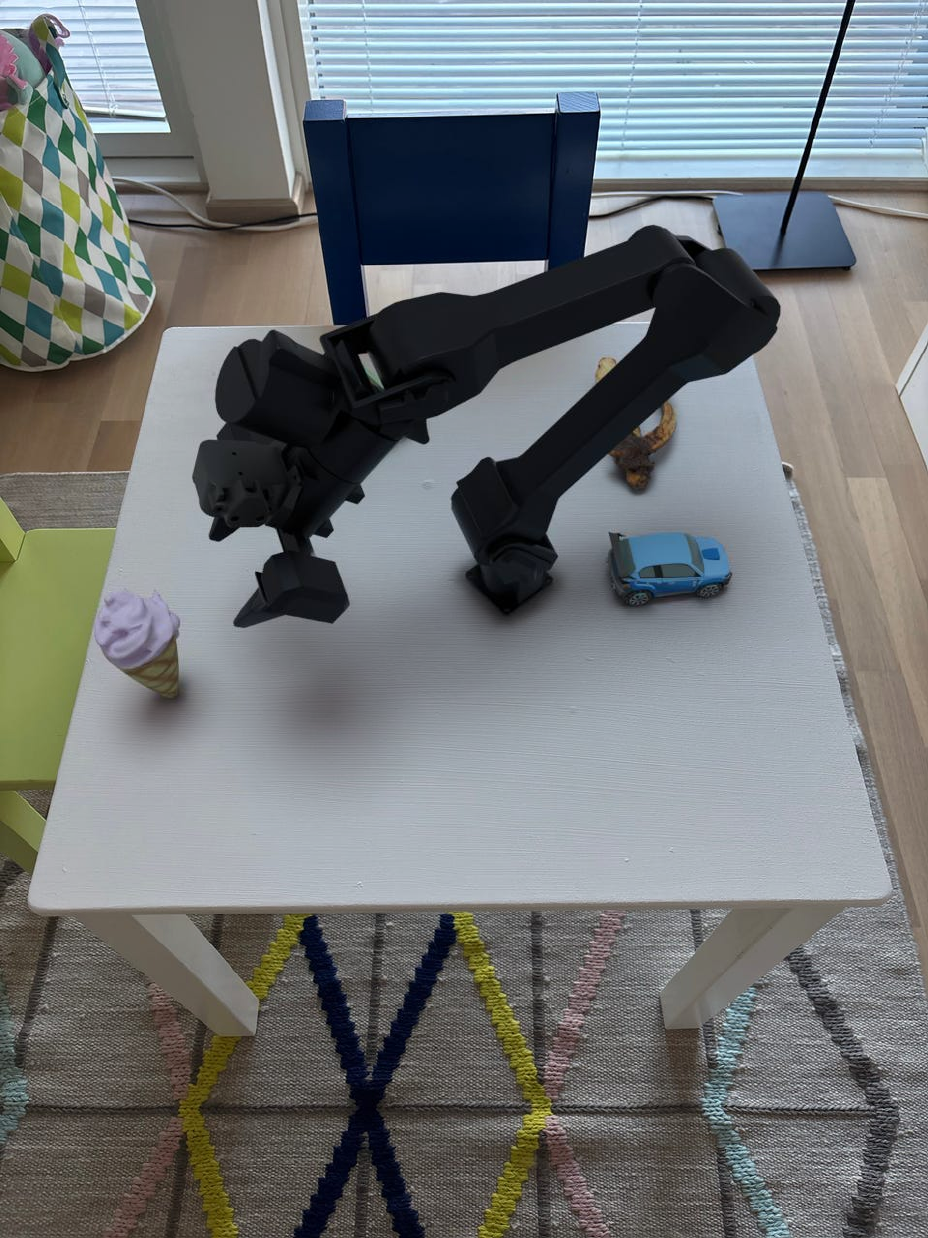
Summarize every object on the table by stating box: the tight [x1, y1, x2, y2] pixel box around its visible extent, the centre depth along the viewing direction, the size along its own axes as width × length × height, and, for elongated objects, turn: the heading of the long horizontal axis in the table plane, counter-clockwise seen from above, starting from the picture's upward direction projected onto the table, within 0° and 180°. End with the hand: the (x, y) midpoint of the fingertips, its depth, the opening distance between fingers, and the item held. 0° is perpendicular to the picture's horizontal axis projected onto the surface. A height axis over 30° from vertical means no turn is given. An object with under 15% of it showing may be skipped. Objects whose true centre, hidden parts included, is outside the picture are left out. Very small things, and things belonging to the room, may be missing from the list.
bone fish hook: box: [594, 356, 677, 489], centre depth 100 cm, size 9×5×18 cm
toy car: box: [605, 531, 733, 606], centre depth 89 cm, size 6×12×6 cm, turn 96°
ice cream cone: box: [93, 588, 181, 699], centre depth 79 cm, size 7×6×15 cm
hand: (225, 581), depth 76 cm, fingers open, 9 cm apart
